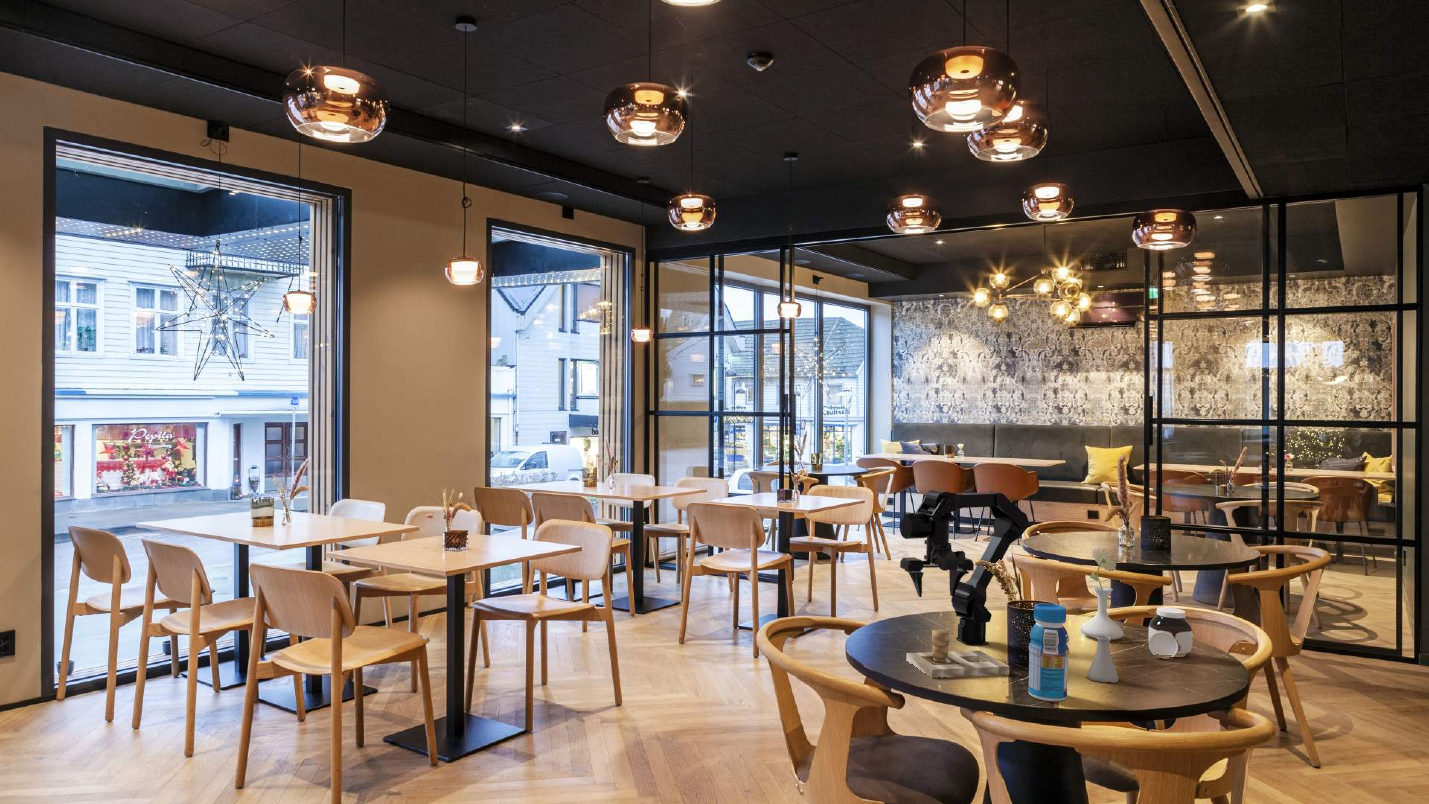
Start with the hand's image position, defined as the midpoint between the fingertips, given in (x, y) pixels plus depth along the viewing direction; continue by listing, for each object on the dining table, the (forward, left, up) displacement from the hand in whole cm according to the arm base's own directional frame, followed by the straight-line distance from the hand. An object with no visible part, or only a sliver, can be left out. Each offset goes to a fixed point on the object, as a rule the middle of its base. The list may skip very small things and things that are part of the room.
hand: (936, 596), depth 247 cm
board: (+4, +20, -13) cm, 24 cm away
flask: (-27, +33, -13) cm, 45 cm away
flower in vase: (-52, -3, -13) cm, 54 cm away
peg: (+8, +20, -13) cm, 25 cm away
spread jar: (-58, +17, -13) cm, 62 cm away
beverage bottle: (-6, +43, -13) cm, 45 cm away
